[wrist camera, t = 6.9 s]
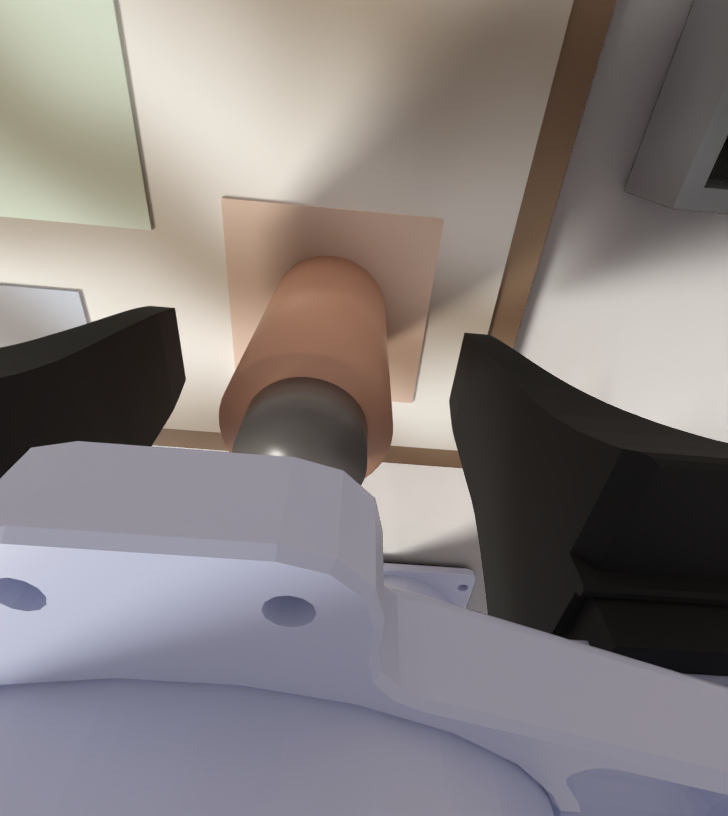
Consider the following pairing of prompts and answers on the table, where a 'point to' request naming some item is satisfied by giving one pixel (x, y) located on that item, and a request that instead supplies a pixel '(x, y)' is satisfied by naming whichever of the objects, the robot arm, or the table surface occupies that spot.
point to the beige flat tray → (287, 173)
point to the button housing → (689, 119)
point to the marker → (315, 372)
